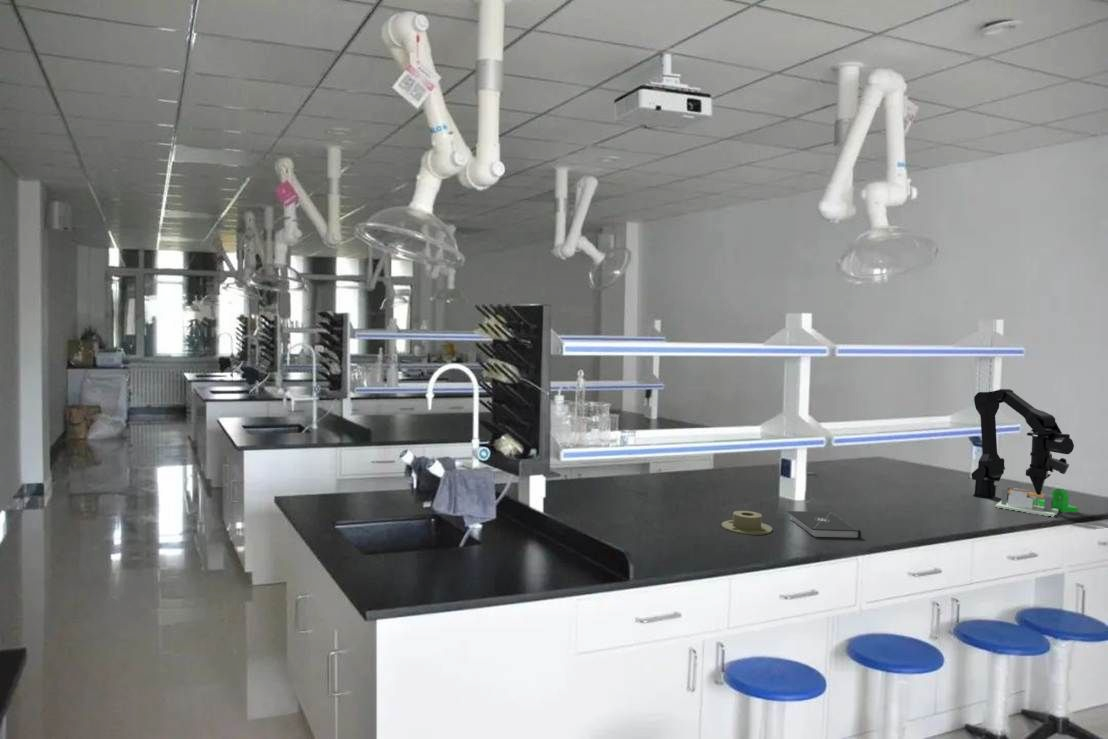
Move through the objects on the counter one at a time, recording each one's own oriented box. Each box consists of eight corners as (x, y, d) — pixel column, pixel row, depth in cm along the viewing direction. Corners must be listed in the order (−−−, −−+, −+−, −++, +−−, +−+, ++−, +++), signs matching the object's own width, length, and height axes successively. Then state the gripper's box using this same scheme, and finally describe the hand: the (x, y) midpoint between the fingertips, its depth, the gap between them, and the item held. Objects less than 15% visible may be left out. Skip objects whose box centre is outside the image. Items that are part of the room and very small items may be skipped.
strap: (1003, 493, 294) (1003, 489, 294) (1004, 491, 296) (1004, 488, 296) (1043, 498, 286) (1044, 494, 286) (1045, 496, 288) (1045, 493, 288)
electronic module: (1000, 504, 293) (1001, 489, 292) (1004, 501, 298) (1005, 486, 298) (1049, 512, 283) (1051, 496, 283) (1052, 509, 289) (1054, 493, 288)
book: (861, 540, 243) (861, 530, 243) (812, 539, 242) (812, 529, 242) (831, 521, 265) (832, 512, 264) (786, 520, 264) (787, 510, 263)
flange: (742, 505, 260) (712, 512, 250) (782, 516, 249) (753, 523, 239) (741, 520, 260) (711, 527, 250) (782, 531, 249) (752, 538, 239)
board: (995, 507, 292) (995, 505, 291) (1001, 502, 301) (1001, 499, 301) (1053, 517, 280) (1054, 514, 280) (1058, 511, 290) (1059, 508, 290)
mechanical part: (1077, 513, 289) (1079, 491, 289) (1062, 513, 288) (1064, 490, 288) (1052, 505, 301) (1054, 483, 300) (1037, 505, 300) (1039, 483, 300)
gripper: (1064, 455, 275) (1062, 501, 276) (1071, 449, 290) (1068, 493, 291) (1026, 451, 282) (1024, 496, 283) (1035, 446, 297) (1032, 489, 297)
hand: (1038, 494), depth 288 cm, fingers closed, pressing on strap
